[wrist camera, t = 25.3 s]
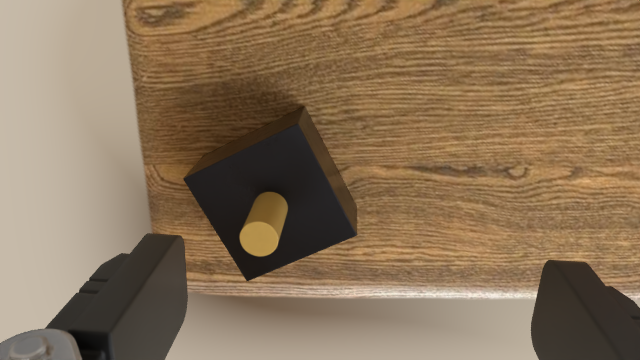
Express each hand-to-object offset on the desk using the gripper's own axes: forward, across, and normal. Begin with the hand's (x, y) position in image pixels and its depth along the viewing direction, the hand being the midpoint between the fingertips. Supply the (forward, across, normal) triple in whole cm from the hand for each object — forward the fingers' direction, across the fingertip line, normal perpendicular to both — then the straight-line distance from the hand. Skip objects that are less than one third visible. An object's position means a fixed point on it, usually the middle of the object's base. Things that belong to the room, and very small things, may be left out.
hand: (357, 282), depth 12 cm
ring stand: (+28, +5, +9) cm, 30 cm away
